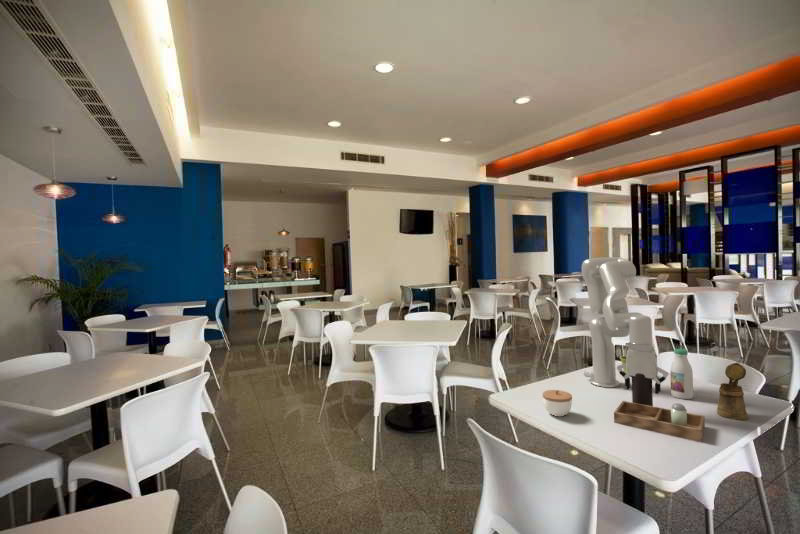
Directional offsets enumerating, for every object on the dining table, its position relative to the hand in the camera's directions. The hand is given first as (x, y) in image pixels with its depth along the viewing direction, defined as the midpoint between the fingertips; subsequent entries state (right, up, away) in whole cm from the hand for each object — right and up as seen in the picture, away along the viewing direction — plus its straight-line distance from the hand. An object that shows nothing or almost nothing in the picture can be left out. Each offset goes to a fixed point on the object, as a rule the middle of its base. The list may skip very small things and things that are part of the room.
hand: (642, 390), depth 151 cm
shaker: (+1, -7, -18) cm, 19 cm away
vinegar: (0, -8, 0) cm, 8 cm away
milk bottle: (+25, -7, +13) cm, 29 cm away
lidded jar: (-33, -10, +1) cm, 34 cm away
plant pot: (+22, -6, +44) cm, 50 cm away
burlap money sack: (+31, -7, -6) cm, 32 cm away
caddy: (-3, -8, -14) cm, 16 cm away
